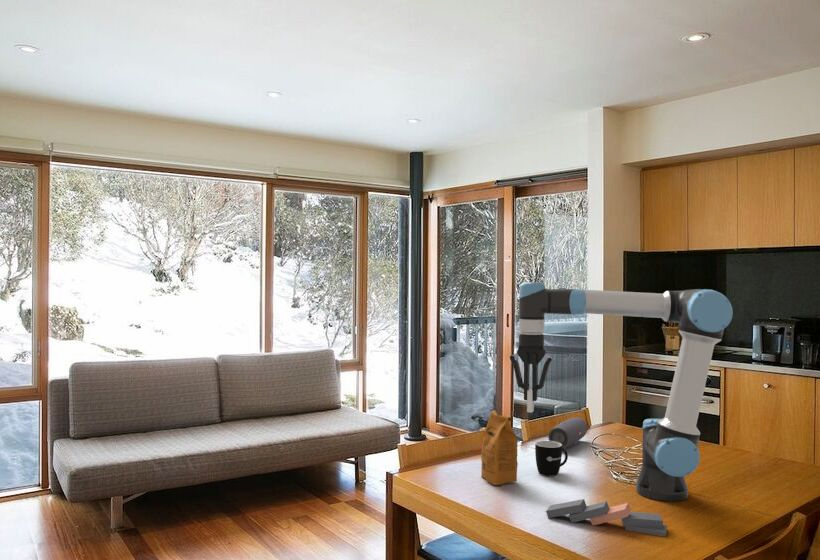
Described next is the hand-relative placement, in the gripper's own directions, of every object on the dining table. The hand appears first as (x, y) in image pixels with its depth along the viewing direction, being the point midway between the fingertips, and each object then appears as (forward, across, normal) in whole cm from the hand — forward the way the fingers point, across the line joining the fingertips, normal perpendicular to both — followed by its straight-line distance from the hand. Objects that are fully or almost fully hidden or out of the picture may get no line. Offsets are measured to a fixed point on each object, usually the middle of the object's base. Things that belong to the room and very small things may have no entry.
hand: (530, 411), depth 194 cm
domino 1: (+26, -8, +11) cm, 29 cm away
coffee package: (+27, +13, -14) cm, 33 cm away
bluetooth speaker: (+27, -2, -68) cm, 73 cm away
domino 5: (+26, -28, +11) cm, 40 cm away
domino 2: (+26, -14, +12) cm, 31 cm away
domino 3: (+26, -20, +11) cm, 34 cm away
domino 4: (+24, -27, +11) cm, 38 cm away
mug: (+27, -2, -29) cm, 39 cm away
